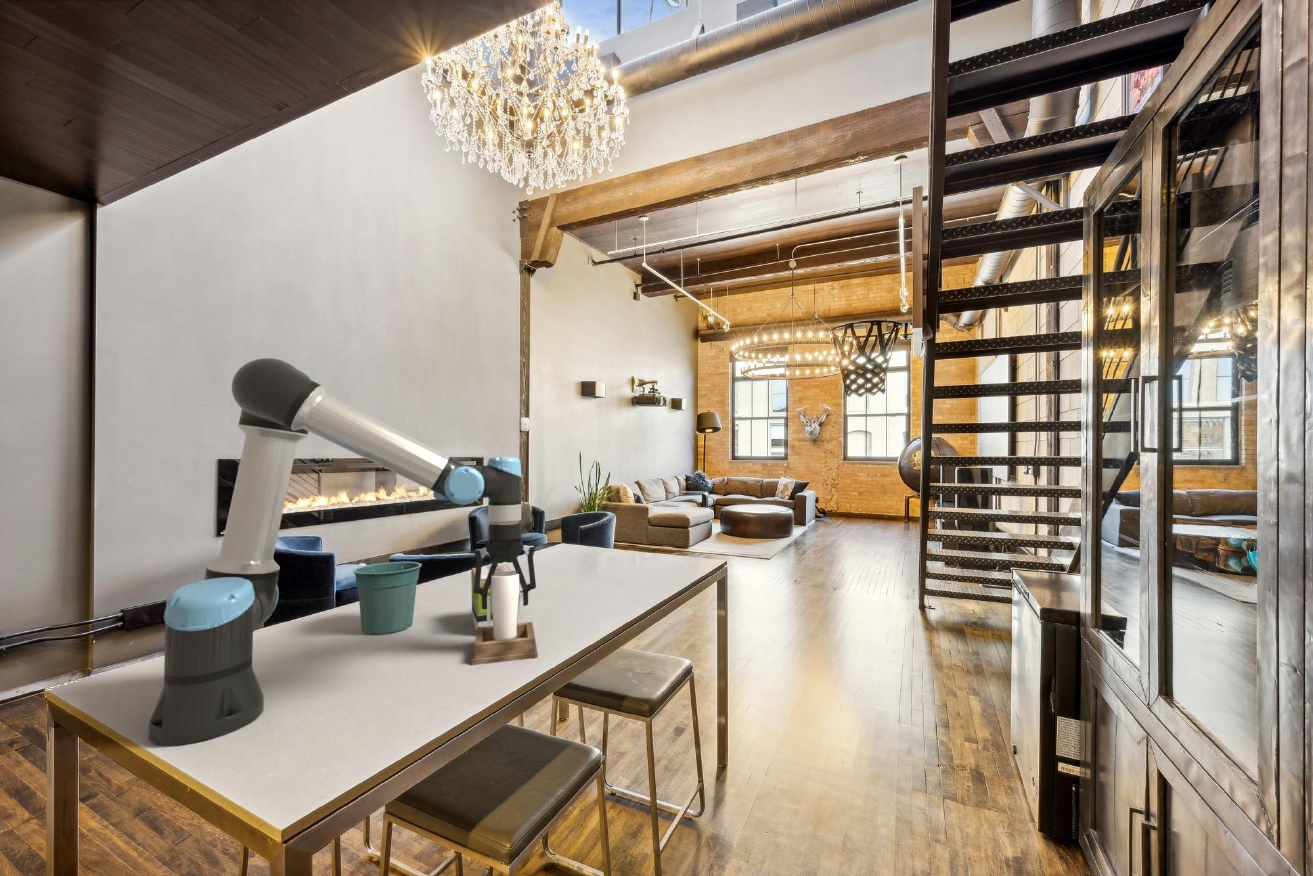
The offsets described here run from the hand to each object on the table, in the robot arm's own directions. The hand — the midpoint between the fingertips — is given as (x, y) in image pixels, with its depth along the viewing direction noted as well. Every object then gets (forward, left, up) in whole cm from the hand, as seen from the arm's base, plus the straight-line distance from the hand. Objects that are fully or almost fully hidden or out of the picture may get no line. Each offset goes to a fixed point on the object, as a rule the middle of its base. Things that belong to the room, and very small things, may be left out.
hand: (505, 621), depth 124 cm
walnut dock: (0, 0, -7) cm, 7 cm away
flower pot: (-30, +27, -7) cm, 41 cm away
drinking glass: (0, 0, -4) cm, 4 cm away
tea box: (-3, +20, -7) cm, 21 cm away
